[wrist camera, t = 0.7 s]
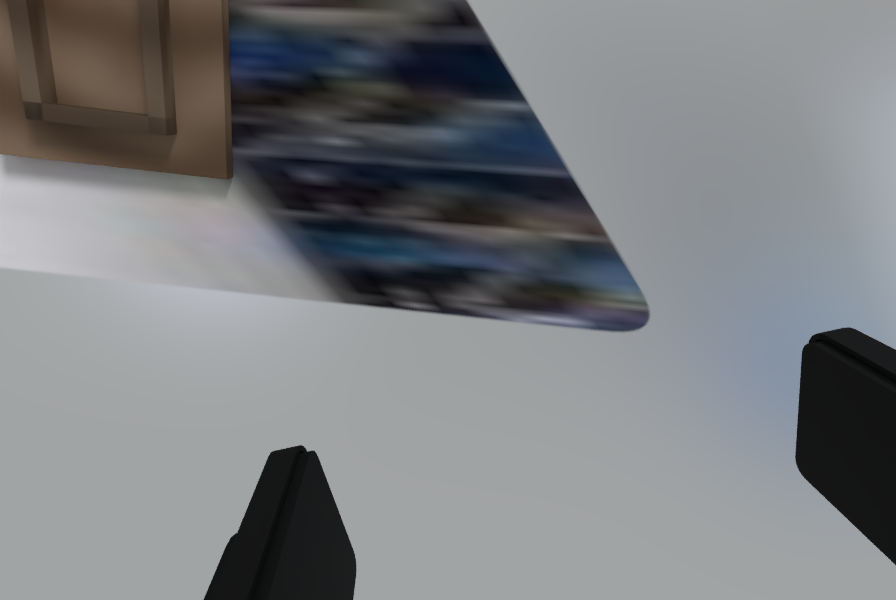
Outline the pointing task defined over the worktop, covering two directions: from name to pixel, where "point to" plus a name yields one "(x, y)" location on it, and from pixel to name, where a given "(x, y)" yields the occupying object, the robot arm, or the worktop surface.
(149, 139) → the holder
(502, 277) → the worktop surface
